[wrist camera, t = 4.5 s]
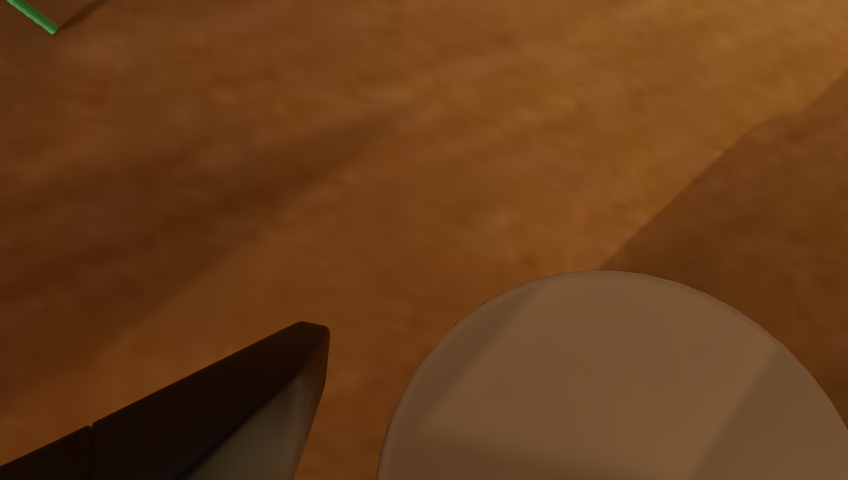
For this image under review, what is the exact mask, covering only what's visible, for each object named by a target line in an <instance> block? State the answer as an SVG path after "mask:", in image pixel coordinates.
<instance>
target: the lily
mask: <svg viewBox="0 0 848 480" xmlns="http://www.w3.org/2000/svg"><path fill="white" fill-rule="evenodd" d="M6 1H8V2H9V3H10V4H12V5H13V6H15V7H16V8H17V9H19V10H20V11H21V12H23V13H24V14H25V15H27V16H28V17H29V18H31V19H32V20H33V21H35V22H36V23H37V24H39V25H40V26H41V27H43V28H44V29H45V30H47V31H48V32H49V33H51V34H53V33H55V32H56V31H57V29H58V25H56V24H55V23H54V22H52V21H51V20H50V19H48V18H47V17H46V16H44V15H43V14H42V13H40V12H39V11H38V10H36V9H35V8H34V7H32V6H31V5H30V4H29V3H27V2H26V1H25V0H6Z"/></svg>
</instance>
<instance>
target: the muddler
mask: <svg viewBox="0 0 848 480" xmlns="http://www.w3.org/2000/svg"><path fill="white" fill-rule="evenodd" d="M376 480H848V429H847V427H846V426H845V424H844V422H843V421H842V419H841V417H840V416H839V414H838V412H837V411H836V409H835V407H834V406H833V404H832V402H831V401H830V399H829V398H828V396H827V395H826V394H825V392H824V391H823V390H822V388H821V387H820V386H819V385H818V383H817V382H816V381H815V379H814V378H813V377H812V375H811V374H810V373H809V371H808V370H807V369H806V368H805V367H804V366H803V365H802V364H801V363H800V362H799V361H798V360H797V359H796V358H795V357H794V355H793V354H792V353H791V352H790V351H789V350H788V349H787V348H786V347H785V346H784V345H782V344H781V343H780V342H779V341H778V340H777V339H775V338H774V337H773V336H772V335H771V334H770V333H768V332H767V331H766V330H765V329H764V328H762V327H761V326H760V325H759V324H757V323H756V322H754V321H753V320H751V319H750V318H748V317H747V316H745V315H744V314H742V313H741V312H739V311H738V310H736V309H735V308H733V307H731V306H729V305H727V304H725V303H724V302H722V301H720V300H718V299H716V298H714V297H712V296H710V295H708V294H706V293H704V292H701V291H699V290H696V289H693V288H691V287H688V286H686V285H683V284H681V283H678V282H674V281H670V280H666V279H663V278H659V277H655V276H651V275H647V274H640V273H632V272H625V271H614V270H586V271H578V272H569V273H560V274H556V275H552V276H548V277H544V278H540V279H536V280H532V281H530V282H527V283H524V284H522V285H519V286H517V287H514V288H512V289H509V290H507V291H505V292H503V293H501V294H499V295H497V296H496V297H494V298H492V299H490V300H488V301H486V302H485V303H483V304H481V305H480V306H478V307H477V308H476V309H474V310H473V311H472V312H470V313H469V314H467V315H466V316H465V317H463V318H462V319H461V320H459V321H458V322H457V323H456V324H455V325H454V326H453V327H452V328H451V329H450V330H449V331H448V332H447V333H446V334H445V335H443V336H442V337H441V338H440V339H439V340H438V341H437V342H436V343H435V345H434V346H433V347H432V349H431V350H430V351H429V352H428V354H427V355H426V356H425V357H424V359H423V360H422V361H421V362H420V364H419V365H418V366H417V368H416V370H415V371H414V373H413V375H412V376H411V378H410V380H409V381H408V383H407V385H406V386H405V388H404V390H403V391H402V393H401V396H400V398H399V400H398V402H397V405H396V407H395V409H394V412H393V414H392V416H391V419H390V421H389V424H388V427H387V431H386V434H385V437H384V441H383V444H382V448H381V451H380V456H379V462H378V468H377V474H376Z"/></svg>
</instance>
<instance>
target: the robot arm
mask: <svg viewBox="0 0 848 480" xmlns="http://www.w3.org/2000/svg"><path fill="white" fill-rule="evenodd" d="M329 342H330V331H329V329H328V327H326V326H324V325H319V324H314V323H309V322H304V321H300V322H297V323H295V324H293V325H291V326H289V327H287V328H285V329H283V330H280V331H278V332H276V333H274V334H272V335H270V336H268V337H266V338H264V339H262V340H260V341H258V342H256V343H254V344H252V345H250V346H248V347H246V348H244V349H242V350H240V351H238V352H236V353H234V354H232V355H230V356H228V357H226V358H224V359H222V360H220V361H217V362H215V363H213V364H211V365H209V366H207V367H205V368H203V369H201V370H199V371H197V372H195V373H193V374H191V375H189V376H187V377H185V378H183V379H181V380H179V381H177V382H175V383H173V384H171V385H169V386H167V387H165V388H163V389H161V390H159V391H156V392H154V393H152V394H150V395H148V396H146V397H144V398H142V399H140V400H138V401H136V402H134V403H132V404H130V405H128V406H126V407H124V408H122V409H120V410H118V411H116V412H114V413H112V414H110V415H108V416H106V417H104V418H102V419H100V420H98V421H95V422H94V423H93V424H92V427H91V426H85V427H83V428H81V429H79V430H77V431H75V432H73V433H71V434H69V435H67V436H65V437H62V438H60V439H58V440H56V441H54V442H52V443H50V444H48V445H46V446H43V447H41V448H39V449H37V450H35V451H33V452H31V453H28V454H26V455H24V456H22V457H20V458H18V459H15V460H13V461H11V462H9V463H6V464H4V465H2V466H0V480H293V478H294V476H295V473H296V470H297V467H298V464H299V461H300V458H301V455H302V452H303V449H304V447H305V444H306V441H307V438H308V435H309V432H310V429H311V426H312V423H313V420H314V417H315V414H316V411H317V409H318V406H319V403H320V400H321V397H322V394H323V390H324V386H325V380H326V372H327V362H328V352H329Z"/></svg>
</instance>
